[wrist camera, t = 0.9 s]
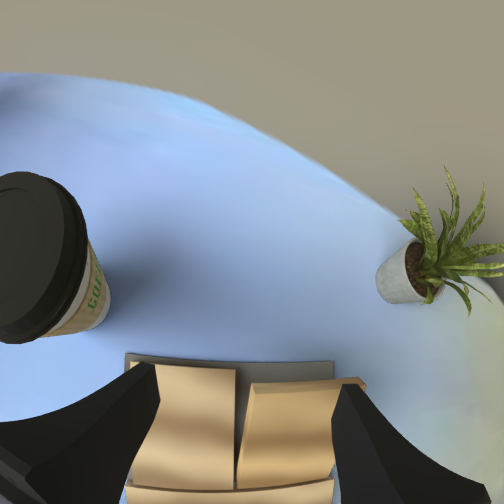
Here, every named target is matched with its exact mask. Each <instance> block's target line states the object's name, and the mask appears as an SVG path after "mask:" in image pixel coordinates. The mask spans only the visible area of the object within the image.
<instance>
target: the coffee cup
mask: <svg viewBox="0 0 504 504" xmlns="http://www.w3.org/2000/svg"><path fill="white" fill-rule="evenodd" d="M110 303H111V294H110V289H109V286H108V284H107V282H106V280H105V276H104V273H103V271H102V269H101V266H100V264H99V262H98V260H97V258H96V255H95V253H94V251H93V248H92V246H91V244H90V241H89V239H88V236H87V229H86V222H85V219H84V216H83V213H82V210H81V208H80V206H79V205H78V203H77V201H76V200H75V198H74V197H73V196H72V195H71V194H70V193H69V192H68V191H67V190H66V189H65V188H64V187H63V186H62V185H60V184H59V183H57V182H55V181H54V180H52V179H50V178H47V177H43V176H39V175H38V174H34V173H31V172H18V171H17V172H13V173H8V174H5V175H3V176H1V177H0V342H3V343H6V344H22V343H27V342H31V341H34V340H36V339H37V338H41V337H50V336H59V335H67V334H74V333H78V332H81V331H87V330H91V329H93V328H95V327H97V326H98V325H99V324H100V323H102V321H103V320H104V319H105V317H106V316H107V314H108V311H109V308H110Z"/></svg>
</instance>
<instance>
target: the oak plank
mask: <svg viewBox="0 0 504 504" xmlns="http://www.w3.org/2000/svg"><path fill="white" fill-rule="evenodd" d="M342 384H358V385H359V386H360V387H361V388H362V390H363V391H365V388H366V384H365V383H364V382H363V381H362V380H361V379H360V378H359V377H351V378H342V379H331V380H319V381H304V382H282V383H251V388H250V394H249V401H248V407H247V413H246V419H245V425H244V431H243V437H242V442H241V448H240V454H239V460H238V465H237V471H236V477H235V480H236V484H237V489H246V488H259V487H270V486H279V485H286V484H293V483H300V482H306V481H311V480H317V479H322V478H327V477H328V475H329V473H330V471H331V469H332V467H333V465H334V463H335V461H336V460H335V455H334V449H333V444H332V432H331V417H332V414H333V411H334V408H335V406H336V403H337V399H338V396H339V393H340V390H341V387H342Z"/></svg>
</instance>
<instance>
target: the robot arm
mask: <svg viewBox="0 0 504 504" xmlns="http://www.w3.org/2000/svg"><path fill="white" fill-rule="evenodd" d="M160 402H161V399H160V393H159V387H158V382H157V375H156V369H155V364H150V363H145V362H140V363H138V364H136V365H135V366H134V367H132V368H131V369H129V370H128V371H126V372H125V373H123V374H122V375H121V376H119V377H118V378H116V379H115V380H113V381H112V382H110V383H109V384H107V385H106V386H104V387H102V388H101V389H99V390H97V391H96V392H94V393H92V394H90V395H89V396H87V397H85V398H83V399H81V400H79V401H77V402H75V403H73V404H71V405H69V406H66V407H64V408H62V409H59V410H56V411H53V412H50V413H47V414H44V415H41V416H37V417H33V418H29V419H23V420H18V421H10V422H0V504H119V501H120V498H121V494H122V491H123V488H124V485H125V482H126V479H127V476H128V473H129V470H130V468H131V465H132V463H133V461H134V459H135V457H136V455H137V453H138V451H139V449H140V447H141V445H142V443H143V441H144V440H145V438H146V436H147V434H148V432H149V430H150V428H151V426H152V424H153V422H154V419H155V416H156V414H157V411H158V408H159V405H160ZM331 432H332V444H333V449H334V455H335V460H336V466H337V472H338V477H339V483H340V491H341V504H491V500H490V497H489V495H488V492H487V490H486V488H485V486H484V484H481V483H478V482H475V481H473V480H470V479H467V478H465V477H462V476H460V475H458V474H456V473H454V472H452V471H450V470H448V469H447V468H445V467H443V466H441V465H440V464H438V463H437V462H435V461H433V460H432V459H430V458H429V457H427V456H426V455H425V454H423V453H422V452H421V451H419V450H418V449H417V448H416V447H415V446H413V445H412V444H411V443H410V442H409V441H407V440H406V439H405V438H404V437H403V436H402V435H401V434H400V433H399V432H398V431H397V430H396V429H395V428H394V427H393V426H392V425H391V424H390V423H389V421H388V420H387V419H386V418H385V417H384V416H383V414H382V413H381V412H380V411H379V410H378V409H377V407H376V406H375V405H374V404H373V402H372V401H371V400H370V399H369V397H368V396H367V395H366V394H365V392H364V391H363V390H362V388H361V387H360V386H359V385H358V384H342V387H341V390H340V393H339V396H338V399H337V403H336V406H335V408H334V411H333V414H332V417H331Z"/></svg>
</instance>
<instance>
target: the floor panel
mask: <svg viewBox="0 0 504 504" xmlns="http://www.w3.org/2000/svg"><path fill="white" fill-rule="evenodd" d="M140 362H145V363H150V364H155V369H156V375H157V382H158V387H159V393H160V399H161V402H160V405H159V408H158V411H157V414H156V416H155V419H154V422H153V424H152V426H151V428H150V430H149V432H148V434H147V436H146V438H145V440H144V441H143V443H142V445H141V447H140V449H139V451H138V453H137V455H136V457H135V459H134V461H133V463H132V465H131V468H130V470H129V473H128V476H127V479H128V480H127V483H126V485H125V489H126V497H127V504H331V503H332V496H333V487H334V479H333V478H332V477H330V476H329V475H328V477H327V478H322V479H317V480H311V481H306V482H300V483H293V484H286V485H279V486H270V487H259V488H246V489H237V484H236V480H235V477H236V471H237V465H238V460H239V454H240V448H241V442H242V437H243V431H244V425H245V419H246V413H247V407H248V401H249V394H250V388H251V383H282V382H304V381H319V380H331V379H333V361H321V362H294V363H243V362H215V361H198V360H184V359H172V358H162V357H152V356H144V355H136V354H128V353H125V368H124V373H125V372H126V371H128V370H129V369H131V368H132V367H134V366H135V365H136V364H138V363H140Z"/></svg>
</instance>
